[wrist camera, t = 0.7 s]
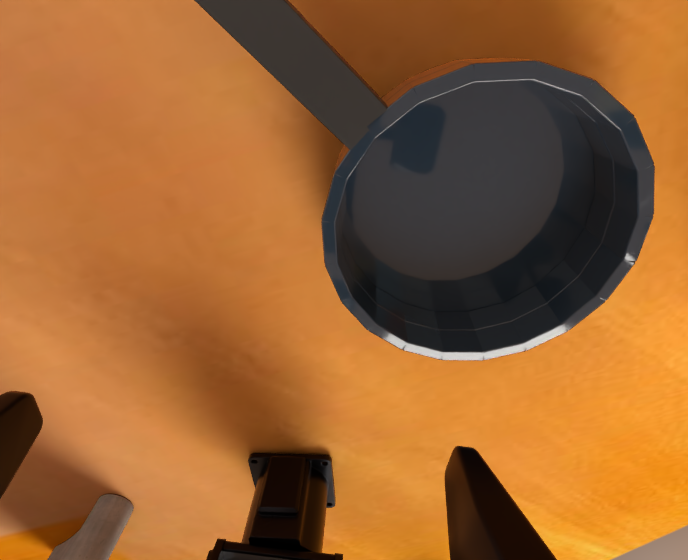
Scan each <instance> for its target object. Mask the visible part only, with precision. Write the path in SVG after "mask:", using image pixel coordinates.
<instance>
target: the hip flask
mask: <svg viewBox="0 0 688 560" xmlns="http://www.w3.org/2000/svg"><path fill="white" fill-rule="evenodd" d="M132 511H133V505H132V503H131V502H130V501H129V500H127V499H126V498H124V497H121V496H118V495H113V494H106V495H102V496H101V497H99V499H98V501H97V502H96V504H95V506H94V507H93V509H92V511H91V512H90V514H89V516H88V517H87V519H86V521H85V522H84V524H83V526H82V527H81V529H80V530H79V531H78V532H77V533H76V534H75V535H73V536H72V537H71V538H70V539H68V540H67V541H65V542H64V543H62V544H60V545H58V546H56V547H55V548H54V550H53V552H52V553H51V555H50V556H49V558H48V560H108V559H109V557H110V555H111V553H112V551H113V549H114V547H115V545H116V543H117V541H118V539H119V537H120V535H121V533H122V531H123V529H124V527H125V525H126V524H127V522H128V520H129V518H130V516H131V513H132Z"/></svg>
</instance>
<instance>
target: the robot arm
mask: <svg viewBox="0 0 688 560" xmlns="http://www.w3.org/2000/svg"><path fill="white" fill-rule="evenodd" d="M42 424H43V418H42V415H41V413H40V410H39V408H38V405H37V403H36V400H35V398H34V396H33V395H32V394H30V393H25V392H17V391H10V392H6V393H4V394H2V395H0V499H1V497H2V496H3V494H4V492H5V491H6V489H7V487H8V486H9V484H10V482H11V480H12V479H13V477H14V475H15V474H16V472H17V470H18V468H19V467H20V465H21V463H22V461H23V460H24V458H25V456H26V455H27V453H28V451H29V449H30V448H31V446H32V444H33V443H34V441H35V439H36V437H37V436H38V434H39V432H40V430H41V428H42ZM248 462H249V466H250V470H251V474H252V477H253V481H254V485H255V493H254V496H253V500H252V504H251V508H250V512H249V516H248V520H247V523H246V527H245V531H244V535H243V539H242V543H238V542H230V541H226V539H217V541H216V544H215V547H214V549H213V550H210V551H209V553H208V556H207V559H206V560H343V554H338V553H335V555H333V554H325V553H322V546H323V536H324V526H325V515H326V508H332V507H334V506H335V490H334V479H333V469H332V459H331V457H330V456H328V455H312V454H273V453H252V454H250V456H249V459H248ZM445 491H446V506H447V521H448V535H449V549H450V559H451V560H557V559H556V558H555V556H554V555H553V554H552V552H551V551H550V550H549V548H548V547H547V545H546V544H545V543H544V541H543V540H542V539H541V537H540V536H539V535H538V533H537V532H536V530H535V529H534V528H533V526H532V525H531V524H530V522H529V521H528V519H527V518H526V517H525V515H524V514H523V513H522V511H521V510H520V509H519V507H518V506H517V504H516V503H515V502H514V500H513V499H512V498H511V496H510V495H509V494H508V492H507V491H506V489H505V488H504V487H503V485H502V484H501V483H500V481H499V480H498V479H497V477H496V476H495V474H494V473H493V472H492V470H491V469H490V468H489V466H488V465H487V464H486V462H485V461H484V459H483V458H482V457H481V455H480V454H479V453H478V451H477V450H475V449H474V448H471V447H463V446H456V447H455V448H454V450H453V452H452V454H451V457H450V460H449V462H448V465H447V467H446V471H445Z"/></svg>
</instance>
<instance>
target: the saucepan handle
mask: <svg viewBox="0 0 688 560" xmlns="http://www.w3.org/2000/svg"><path fill="white" fill-rule="evenodd" d="M195 1H196V2H197V3H198V4H199V5H200V6H201V7H202V8H203V9H204V10H205V11H206V12H207V13H208V14H209V15H210V16H211V17H212V18H213V19H214V20H215V21H217V22H218V23H219V24H220V25H221V26H222V27H223V28H224V29H225V30H226V31H227V32H228V33H229V34H230V35H231V36H232V37H233V38H234V39H235V40H236V41H237V42H238V43H239V44H240V45H241V46H242V47H244V48H245V49H246V50H247V51H248V52H249V53H250V54H251V55H252V56H253V57H254V58H255V59H256V60H257V61H258V62H259V63H260V64H261V65H262V66H263V67H264V68H265V69H266V70H267V71H268V72H269V73H270V74H272V75H273V76H274V77H275V78H276V79H277V80H278V81H279V82H280V83H281V84H282V85H283V86H284V87H285V88H286V89H287V90H288V91H289V92H290V93H291V94H292V95H293V96H294V97H295V98H296V99H297V100H298V101H300V102H301V103H302V104H303V105H304V106H305V107H306V108H307V109H308V110H309V111H310V112H311V113H312V114H313V115H314V116H315V117H316V118H317V119H318V120H319V121H320V122H321V123H322V124H323V125H324V126H325V127H327V128H328V129H329V130H330V131H331V132H332V133H333V134H334V135H335V136H336V137H337V138H338V139H339V140H340V141H341V142H342V143H343V144H344V145H345V146H346V147H347V148H348V149H349V150H352V149H353V147H354V146H355V145H356V144H357V143H358V142H359V141H360V140H361V139H362V138H363V136H364V135H365V134H366V133H367V132H368V131H369V129H368V127H367V126H368V125H369V124H371V123H373V121H374V120H375V121H376V119H377V118H378V117H379V116H380V115H382V114H383V113H384V112H385V111H387V105H386V103H385V102H384V101H383V100H382V99H381V98H380V97H379V96H378V95H377V93H376V92H375V91H374V90H373V89H372V88H371V87H370V86H369V85H368V84H367V83H366V82H365V81H364V80H363V79H362V78H361V77H360V76H359V74H358V73H357V72H356V71H355V70H354V69H353V68H352V67H351V66H350V65H349V64H348V63H347V62H346V61H345V60H344V59H343V58H342V57H341V56H340V54H339V53H338V52H337V51H336V50H335V49H334V48H333V47H332V46H331V45H330V44H329V43H328V42H327V41H326V40H325V39H324V38H323V37H322V35H321V34H320V33H319V32H318V31H317V30H316V29H315V28H314V27H313V26H312V25H311V24H310V23H309V22H308V21H307V20H306V19H305V18H304V16H303V15H302V14H301V13H300V12H299V11H298V10H297V9H296V8H295V7H294V6H293V5H292V4H291V3H290V2H289V1H288V0H195ZM369 126H370V125H369Z"/></svg>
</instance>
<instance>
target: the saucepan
mask: <svg viewBox="0 0 688 560" xmlns="http://www.w3.org/2000/svg"><path fill="white" fill-rule="evenodd" d="M381 99H382V100H383V101H384V102H385V103H386V105H387V111H385V112H384V113H383V114H382V115H380V116H379V117H378V118H377V119H376V121H375V120H374V121H373V123H371V124H369V125H370V126H369V125H368V126H367V127H368V129H369V131H368V132H367V133H366V134H365V135H364V136H363V138H362V139H361V140H360V141H359V142H358V143H357V144H356V145H355V146H354V147H353V149H352V150H349V149H348V148H347V147H346V146H345V145H344V147H343V148H342V150H341V151H340V154H339V157H338V160H337V164H336V167H335V171H334V174H333V178H332V182H331V185H330V189H329V193H328V197H327V200H326V204H325V208H324V212H323V215H322V221H321V225H322V237H323V250H324V263H325V267H326V269H327V271H328V273H329V276H330V278H331V280H332V282H333V284H334V287H335V289H336V291H337V293H338V296H339V298H340V300H341V301H342V303H343V304H344V305H345V307H346V308H347V309H348V310H349V311H350V312H351V313H352V314H353V315H354V316H355V317H356V318H357V319H358V320H359V322H360V323H361V324H362V325H363V326H364V327H365V328H366V329H367V330H369V331H370V332H372V333H373V334H375V335H377V336H379V337H380V338H382V339H384V340H385V341H387V342H389V343H391V344H392V345H394V346H396V347H398V348H399V349H402V350H404V351H408V352H412V353H416V354H420V355H424V356H427V357H431V358H435V359H439V360H487V359H492V358H496V357H501V356H505V355H510V354H514V353H519V352H523V351H526V350H529V349H531V348H534V347H536V346H538V345H540V344H542V343H544V342H546V341H548V340H551V339H553V338H555V337H557V336H559V335H561V334H563V333H565V332H567V331H568V330H570V329H572V328H573V327H574V326H575V325H577V324H578V323H579V322H580V321H582V320H583V319H584V318H585V317H587V316H588V315H589V314H590V313H592V312H593V311H594V310H596V309H597V308H598V307H599V306H601V305H602V304H603V303H604V302H605V300H607V299H608V298H609V297H610V295H611V294H612V293H613V291H614V290H615V289H616V288H617V286H618V285H619V284H620V282H621V281H622V280H623V278H624V277H625V276H626V274H627V273H628V272H629V270H630V269H631V268H632V267H633V265H634V264H635V261H637V258H638V256H639V253H640V250H641V248H642V245H643V242H644V240H645V237H646V235H647V232H648V229H649V227H650V224H651V221H652V219H653V214H654V173H655V166H654V162H653V159H652V157H651V155H650V152H649V150H648V147H647V145H646V143H645V140H644V138H643V135H642V133H641V130H640V128H639V126H638V123H637V121H636V118H635V117H634V115H633V114H632V113H631V112H630V111H629V110H627V109H626V108H625V107H624V106H623V105H622V104H621V103H620V102H619V101H618V100H617V99H615V98H614V97H613V96H612V95H611V94H610V93H609V92H608V91H607V90H606V89H605V88H603V87H602V86H601V85H600V84H599V83H598V82H597V81H596V80H593V79H592V78H589V77H586V76H583V75H580V74H577V73H574V72H571V71H568V70H565V69H562V68H559V67H556V66H553V65H550V64H547V63H544V62H542V61H537V60H528V59H517V58H506V57H504V58H476V59H461V60H453V61H450V62H448V63H445V64H443V65H439V66H436V67H433V68H431V69H428V70H426V71H424V72H421V73H419V74H416V75H415V76H413V77H410V78H408V79H406V81H403V82H402V83H401V84H399V85H398V86H396V87H395V88H394V89H392V90H391V91H390V92H388V93H387V94H386V95H385V96H383V97H382V98H381Z"/></svg>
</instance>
